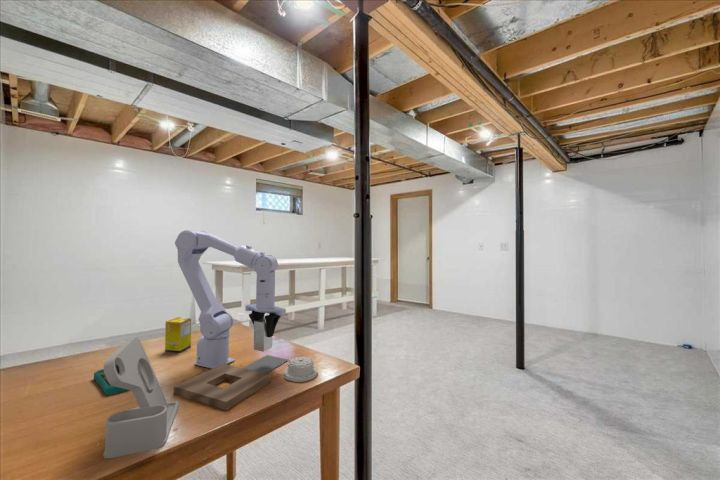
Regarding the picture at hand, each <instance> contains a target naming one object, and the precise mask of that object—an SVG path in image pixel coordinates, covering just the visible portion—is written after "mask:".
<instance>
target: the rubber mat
mask: <svg viewBox="0 0 720 480" xmlns="http://www.w3.org/2000/svg"><path fill="white" fill-rule="evenodd" d="M287 360H289V359H288V358H282V357H279V356H278V357H277V356H272V355H268V354H267V355H265V356H263V357H261V358H259V359H257V360H255V361H252V362H251V363H249V364H246V365H245V366H243V367H242V368H243V369H247V370H252V371H256V372H260V373H264V374H268V373H270V372H272V371H273V370H275V369H277V368H279V367H280V366H282V365H283V364H282V363H284V362H285V363H287V362H288V361H287ZM286 361H287V362H286ZM285 363H284V364H285ZM281 364H282V365H281ZM279 365H280V366H279ZM276 367H277V368H276Z"/></svg>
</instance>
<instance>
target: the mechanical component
mask: <svg viewBox="0 0 720 480" xmlns="http://www.w3.org/2000/svg"><path fill="white" fill-rule="evenodd" d="M288 360H289V361H287V367H285V369H284V370H283V378H284V379H285V380H287V381H288V382H289V381H290V382H296V383H301V382H302V383H303V382H307V381H311V380H313V379H315V378H316V377H317V376H318V368H317V367H316V366H314V360H313V359H312V358H310V357H309V356H307V357H306V356H298V357H297V356H295V357H294V358H291V359H288Z"/></svg>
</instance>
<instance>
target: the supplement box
mask: <svg viewBox="0 0 720 480" xmlns="http://www.w3.org/2000/svg"><path fill="white" fill-rule="evenodd" d="M164 336H165V337H164V338H165V339H164V341H165V342H164V345H165V346H164V347H165V349H164V352H165V353H174V354H175V353H176V354H180V353H182V352H184V351H186V350H188V349H190V348H192V317H179V316H178V317H175V318H171V319H169V320H166V321H165V335H164Z"/></svg>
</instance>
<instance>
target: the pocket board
mask: <svg viewBox="0 0 720 480" xmlns="http://www.w3.org/2000/svg"><path fill="white" fill-rule="evenodd" d="M224 381H226V382H229V383H230V384H229V385H227V386H225V387H221V386H218V385H219V384H221V383H223V382H224ZM269 383H271V374H268V373H267V374H264V373H260V372H256V371H252V370H247V369H243V367H239V366H234V365H229V364H222V365H219V366H217V367H215V368H213V369H211V368H210V369H208V370H207V371H204V372H203V373H200V374H198V375H196V376H194V377H191V378H188V379H187V380H185V381H183V382H181V383H179V384H177V385H174V386H173V395H176V396H179V397H182V398H185V399H188V400H191V401H195V402H198V403H202V404H204V405H208V406H209V407H210V406H211V407H214V408H217V409H220V410H224V411H227V410H230V409H231V408H232V407H233V406H235V405H237V404H238V403H240V402H241V401H243V400H244V399H246V398H248V397H249V396H251V395H252V394H254V393H255V392H257V391H258V390H260V389H261V388H263V387H265V386H266V385H268V384H269Z"/></svg>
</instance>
